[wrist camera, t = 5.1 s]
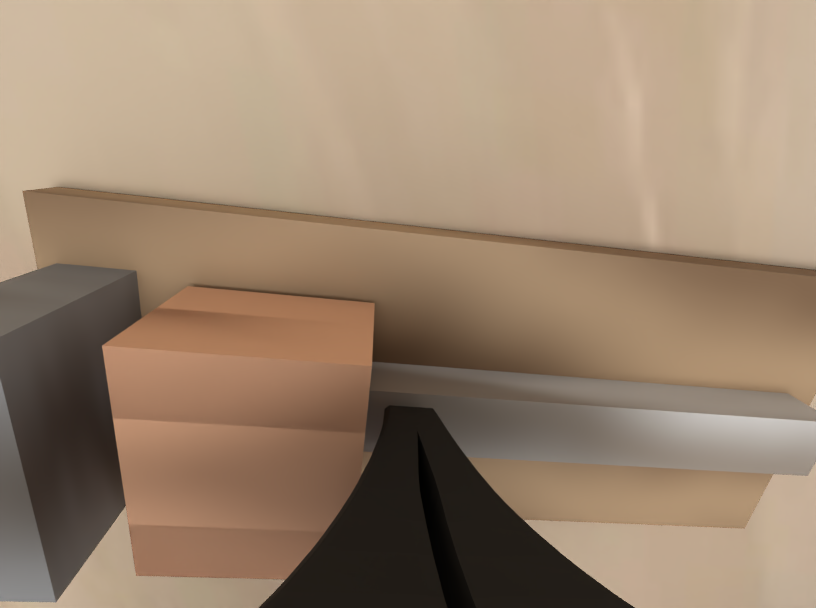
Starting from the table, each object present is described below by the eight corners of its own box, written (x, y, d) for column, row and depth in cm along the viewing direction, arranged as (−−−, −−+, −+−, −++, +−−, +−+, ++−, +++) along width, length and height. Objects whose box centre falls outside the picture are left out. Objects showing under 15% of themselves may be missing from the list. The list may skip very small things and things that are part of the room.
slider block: (358, 473, 14) (350, 580, 10) (199, 465, 13) (136, 575, 10) (374, 303, 11) (371, 365, 8) (187, 286, 11) (101, 345, 8)
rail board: (720, 503, 17) (870, 659, 12) (105, 474, 15) (-48, 654, 9) (833, 272, 14) (1114, 347, 8) (58, 186, 11) (-221, 218, 6)
